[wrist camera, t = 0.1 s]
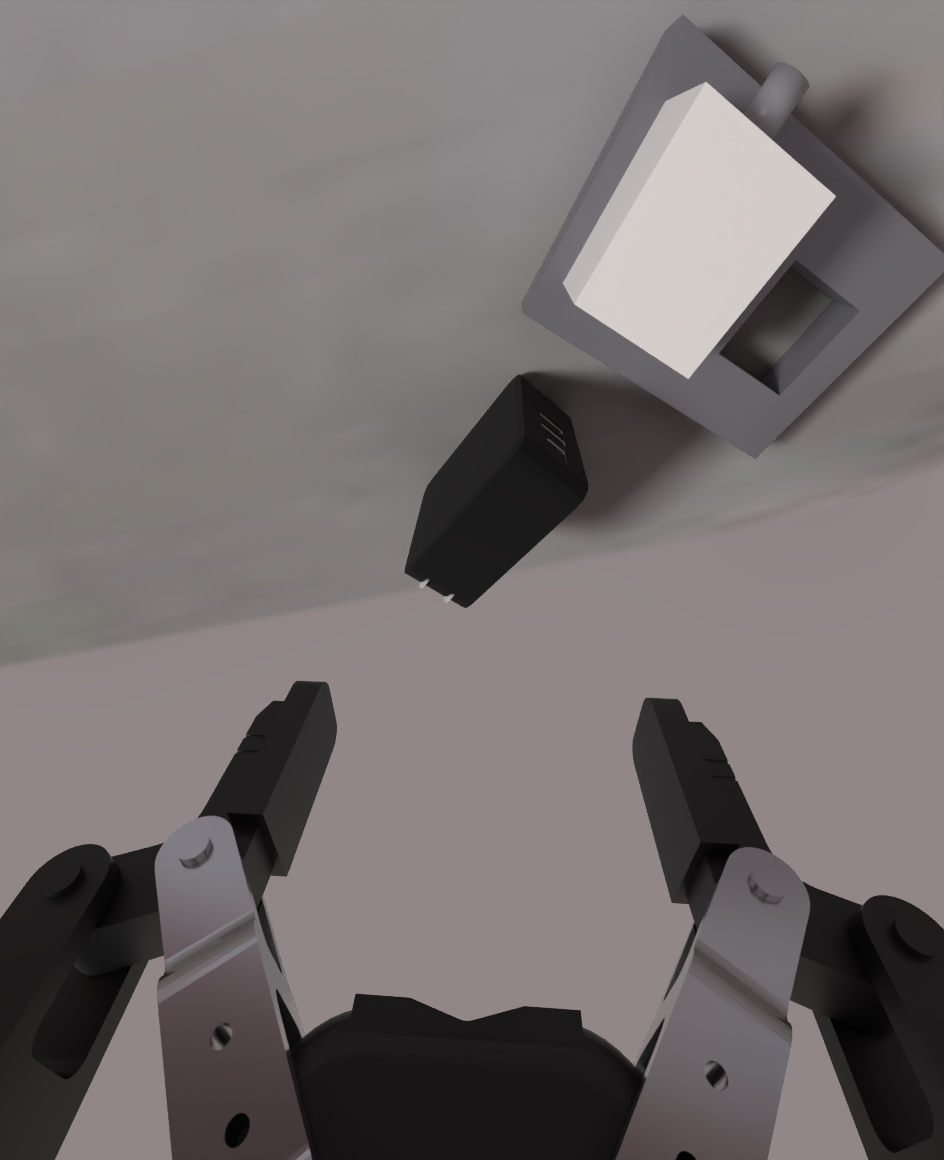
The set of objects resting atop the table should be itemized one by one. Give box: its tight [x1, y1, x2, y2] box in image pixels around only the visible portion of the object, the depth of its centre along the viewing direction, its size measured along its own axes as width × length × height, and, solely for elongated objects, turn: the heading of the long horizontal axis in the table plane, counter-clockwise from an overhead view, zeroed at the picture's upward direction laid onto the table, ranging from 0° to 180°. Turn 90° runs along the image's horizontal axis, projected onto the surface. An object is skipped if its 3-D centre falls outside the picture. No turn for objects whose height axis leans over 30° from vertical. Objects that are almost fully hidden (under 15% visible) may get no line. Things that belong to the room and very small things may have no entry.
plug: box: [563, 63, 836, 379], centre depth 20 cm, size 9×6×7 cm, turn 152°
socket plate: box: [522, 15, 944, 459], centre depth 24 cm, size 11×16×2 cm
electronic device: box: [405, 375, 588, 608], centre depth 28 cm, size 4×10×10 cm, turn 143°
